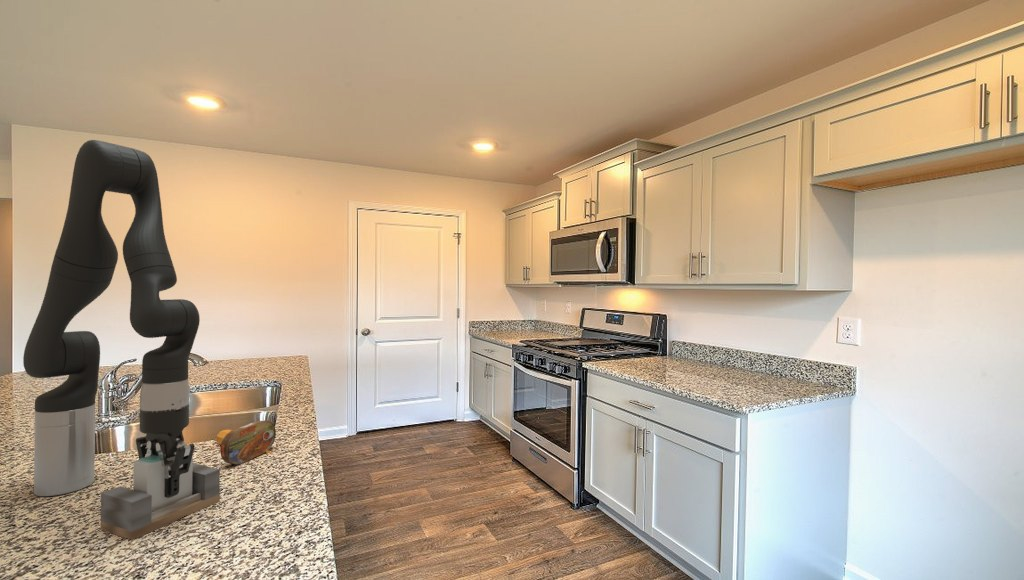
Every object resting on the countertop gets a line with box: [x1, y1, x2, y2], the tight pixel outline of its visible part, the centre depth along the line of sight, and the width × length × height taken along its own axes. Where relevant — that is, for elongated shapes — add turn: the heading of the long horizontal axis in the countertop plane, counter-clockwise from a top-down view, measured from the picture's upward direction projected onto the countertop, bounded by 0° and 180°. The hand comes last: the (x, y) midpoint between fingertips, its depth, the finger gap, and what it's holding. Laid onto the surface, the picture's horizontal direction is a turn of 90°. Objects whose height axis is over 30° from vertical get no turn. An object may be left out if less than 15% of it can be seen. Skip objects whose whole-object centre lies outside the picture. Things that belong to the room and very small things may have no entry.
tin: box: [220, 419, 277, 465], centre depth 115 cm, size 15×3×8 cm, turn 164°
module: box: [132, 455, 194, 512], centre depth 86 cm, size 4×8×9 cm, turn 159°
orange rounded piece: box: [215, 429, 274, 455], centre depth 121 cm, size 20×4×4 cm, turn 69°
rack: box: [100, 462, 221, 541], centre depth 86 cm, size 9×16×6 cm, turn 159°
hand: (164, 493), depth 86 cm, fingers closed on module, 4 cm apart
